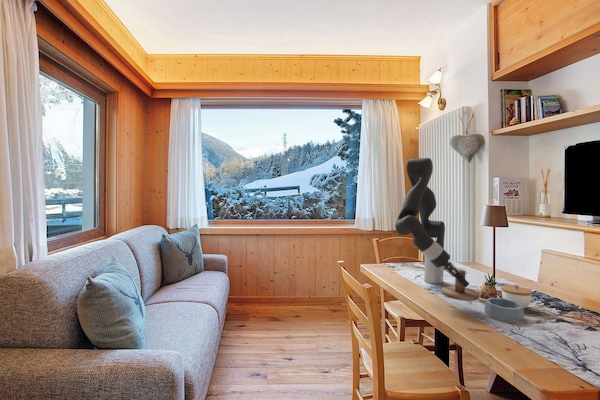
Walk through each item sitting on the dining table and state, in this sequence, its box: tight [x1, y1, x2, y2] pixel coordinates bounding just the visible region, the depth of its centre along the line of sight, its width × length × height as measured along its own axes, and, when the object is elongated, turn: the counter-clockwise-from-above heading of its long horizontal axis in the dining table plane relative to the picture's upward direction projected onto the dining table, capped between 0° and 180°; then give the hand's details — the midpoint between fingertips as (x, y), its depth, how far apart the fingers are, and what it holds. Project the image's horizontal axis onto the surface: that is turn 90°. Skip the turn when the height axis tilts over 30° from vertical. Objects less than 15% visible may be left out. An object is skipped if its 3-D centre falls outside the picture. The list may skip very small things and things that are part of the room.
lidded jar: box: [501, 284, 533, 309], centre depth 135 cm, size 11×11×9 cm
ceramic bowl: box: [484, 297, 525, 323], centre depth 125 cm, size 12×12×5 cm
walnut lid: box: [441, 269, 480, 302], centre depth 130 cm, size 14×14×10 cm
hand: (465, 283), depth 130 cm, fingers closed on walnut lid, 3 cm apart
